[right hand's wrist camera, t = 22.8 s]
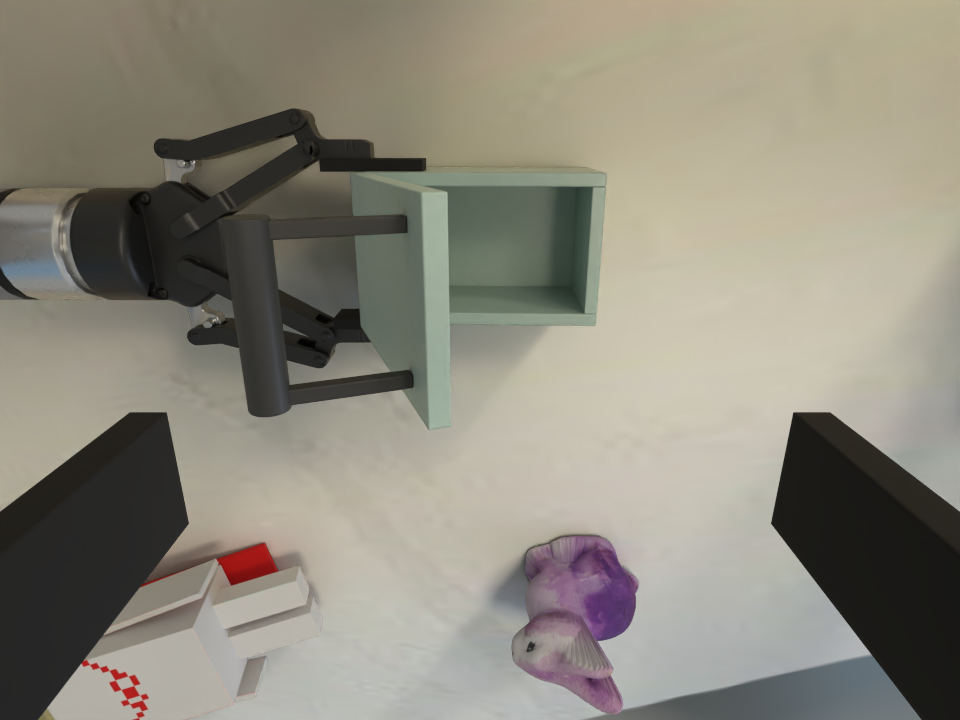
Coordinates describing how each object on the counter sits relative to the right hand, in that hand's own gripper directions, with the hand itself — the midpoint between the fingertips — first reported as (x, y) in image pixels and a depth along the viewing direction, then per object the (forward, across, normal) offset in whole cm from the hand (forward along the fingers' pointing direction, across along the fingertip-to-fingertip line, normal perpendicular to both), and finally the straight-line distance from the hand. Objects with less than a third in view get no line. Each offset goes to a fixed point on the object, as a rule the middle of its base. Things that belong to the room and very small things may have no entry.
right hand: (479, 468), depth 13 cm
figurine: (+36, +9, -32) cm, 49 cm away
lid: (+19, -4, 0) cm, 20 cm away
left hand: (+30, -4, 0) cm, 30 cm away
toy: (+36, -30, -36) cm, 59 cm away
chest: (+36, 0, 0) cm, 36 cm away
